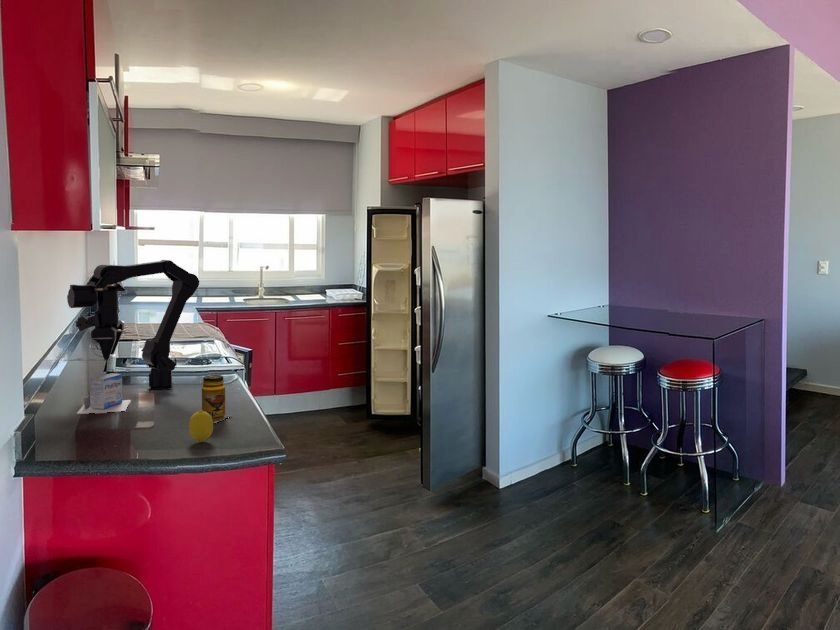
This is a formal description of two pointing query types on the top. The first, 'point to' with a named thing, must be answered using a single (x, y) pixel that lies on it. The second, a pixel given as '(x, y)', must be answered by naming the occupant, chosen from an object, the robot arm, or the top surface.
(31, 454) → the top surface
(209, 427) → the lemon
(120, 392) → the medicine box
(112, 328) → the robot arm
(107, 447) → the top surface
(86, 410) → the board
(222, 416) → the condiment
